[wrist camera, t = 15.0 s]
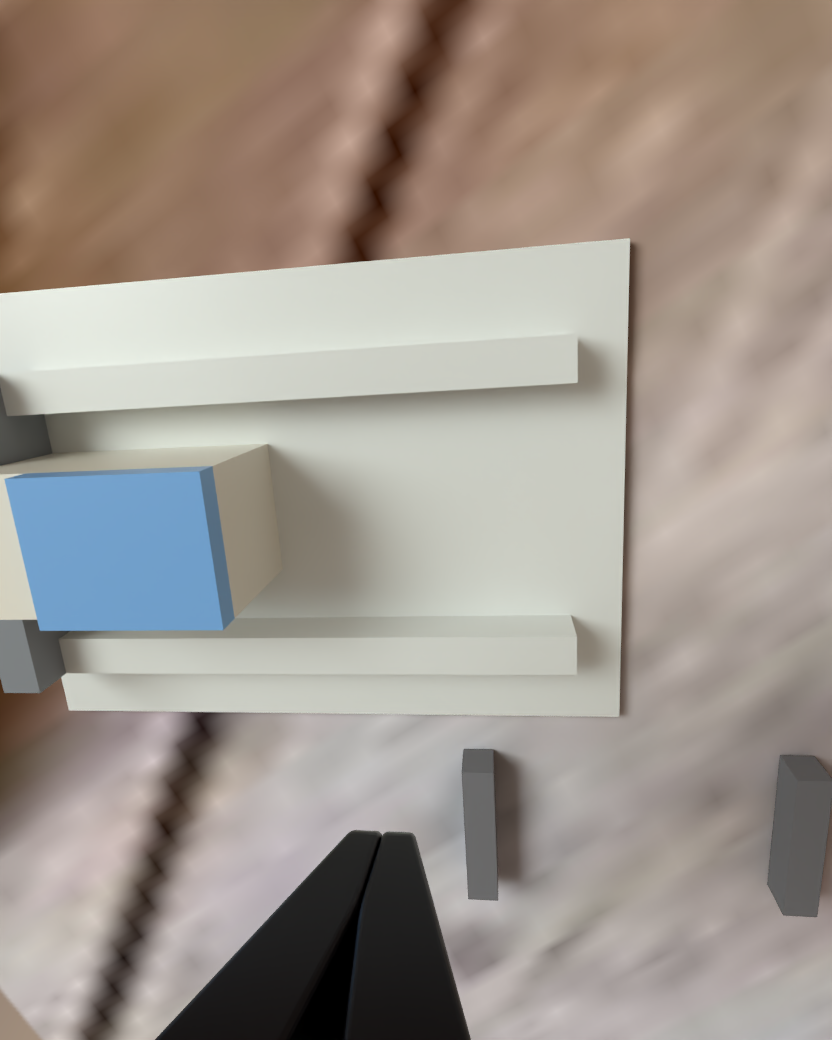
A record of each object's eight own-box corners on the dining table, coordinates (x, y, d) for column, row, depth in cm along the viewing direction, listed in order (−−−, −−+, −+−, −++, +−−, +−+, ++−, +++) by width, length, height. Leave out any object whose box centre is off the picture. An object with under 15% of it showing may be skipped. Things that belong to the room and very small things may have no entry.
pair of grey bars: (799, 885, 21) (816, 917, 20) (469, 870, 22) (468, 899, 21) (814, 756, 19) (834, 781, 18) (463, 749, 21) (461, 772, 20)
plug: (282, 569, 20) (223, 630, 15) (80, 572, 21) (-30, 631, 16) (267, 443, 19) (199, 471, 14) (55, 452, 20) (-69, 481, 15)
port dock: (617, 711, 20) (638, 772, 17) (74, 705, 22) (12, 757, 20) (627, 240, 16) (655, 216, 13) (-20, 296, 19) (-112, 287, 16)
